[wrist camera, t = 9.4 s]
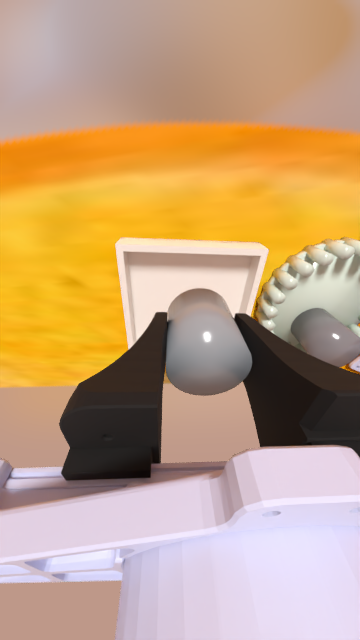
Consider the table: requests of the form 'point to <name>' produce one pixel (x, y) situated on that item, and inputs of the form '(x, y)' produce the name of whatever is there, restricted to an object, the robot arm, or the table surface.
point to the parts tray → (184, 275)
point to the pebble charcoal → (325, 337)
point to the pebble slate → (204, 344)
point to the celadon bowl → (313, 287)
